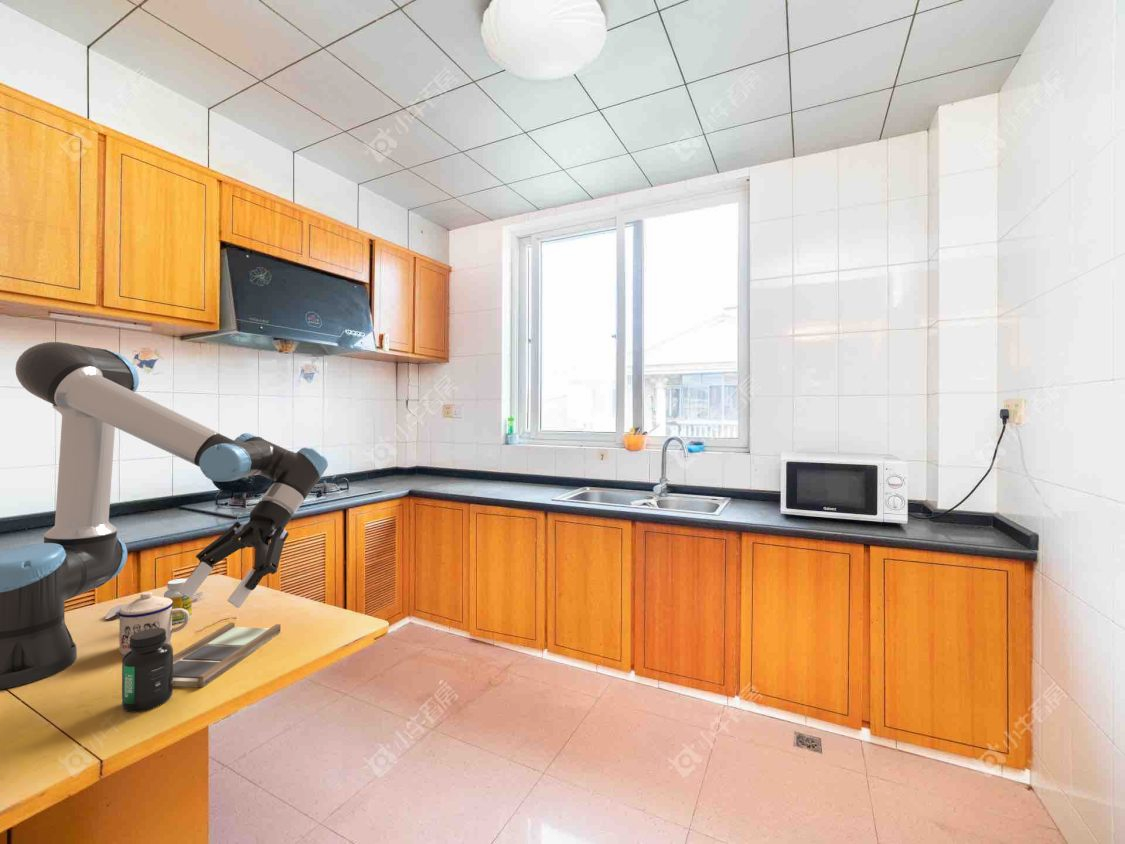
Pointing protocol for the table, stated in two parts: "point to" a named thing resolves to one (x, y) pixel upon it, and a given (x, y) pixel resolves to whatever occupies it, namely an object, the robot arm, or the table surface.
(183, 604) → the supplement bottle
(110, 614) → the stirrer
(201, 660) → the window panel
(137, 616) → the teacup with lid
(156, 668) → the supplement bottle
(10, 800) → the table surface
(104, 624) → the table surface
